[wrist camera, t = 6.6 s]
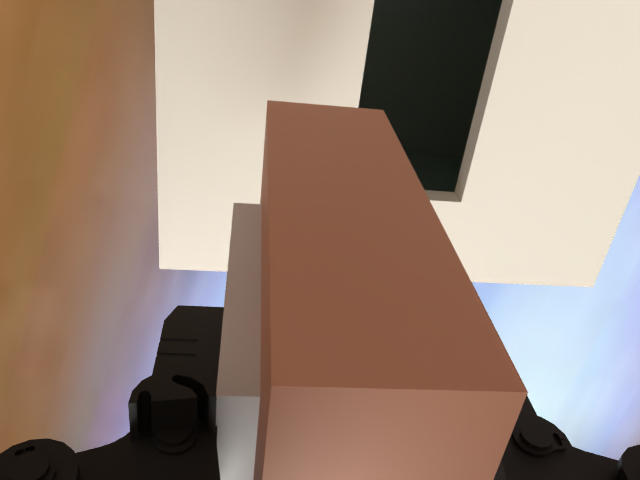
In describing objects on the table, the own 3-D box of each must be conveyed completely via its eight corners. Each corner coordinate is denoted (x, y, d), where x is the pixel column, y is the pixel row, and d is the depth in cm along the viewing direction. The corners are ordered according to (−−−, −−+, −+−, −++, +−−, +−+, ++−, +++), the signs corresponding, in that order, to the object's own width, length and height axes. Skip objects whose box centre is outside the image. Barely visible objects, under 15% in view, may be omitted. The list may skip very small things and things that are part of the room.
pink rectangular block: (251, 319, 19) (241, 688, 10) (267, 100, 15) (272, 386, 7) (346, 322, 19) (413, 682, 11) (383, 109, 16) (528, 392, 7)
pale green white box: (188, 146, 38) (159, 268, 26) (191, -208, 29) (148, -273, 17) (491, 168, 41) (593, 287, 29) (579, -148, 32) (780, -168, 20)
